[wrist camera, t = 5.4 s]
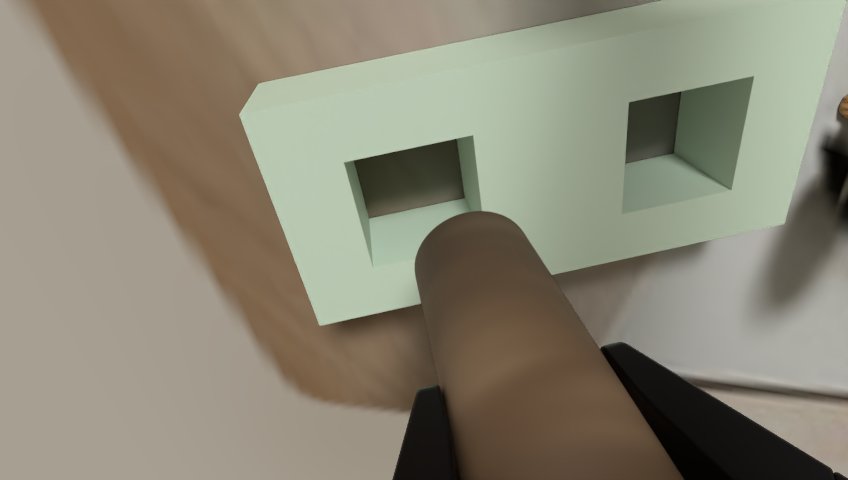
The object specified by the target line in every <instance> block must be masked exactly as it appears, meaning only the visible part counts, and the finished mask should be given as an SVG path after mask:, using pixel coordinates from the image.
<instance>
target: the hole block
mask: <svg viewBox="0 0 848 480" xmlns="http://www.w3.org/2000/svg"><path fill="white" fill-rule="evenodd" d="M846 1H847V0H662V1H657V2H652V3H647V4H642V5H637V6H633V7H628V8H623V9H618V10H613V11H608V12H603V13H598V14H594V15H589V16H584V17H579V18H574V19H569V20H564V21H560V22H555V23H550V24H545V25H540V26H535V27H530V28H525V29H521V30H516V31H511V32H506V33H501V34H496V35H491V36H487V37H482V38H477V39H472V40H467V41H462V42H457V43H452V44H448V45H443V46H438V47H433V48H428V49H423V50H418V51H414V52H409V53H404V54H399V55H394V56H389V57H384V58H379V59H375V60H370V61H365V62H360V63H355V64H350V65H345V66H341V67H336V68H331V69H326V70H321V71H316V72H311V73H306V74H302V75H297V76H292V77H287V78H282V79H277V80H272V81H268V82H263V83H259V84H258V85H257V87H256V89H255V90H254V92H253V93H252V95H251V97H250V98H249V100H248V101H247V103H246V105H245V106H244V108H243V109H242V111H241V113H240V114H239V116H240V119H241V121H242V124H243V126H244V129H245V132H246V134H247V137H248V139H249V142H250V145H251V147H252V150H253V152H254V155H255V158H256V160H257V163H258V166H259V168H260V171H261V173H262V176H263V179H264V181H265V184H266V186H267V189H268V192H269V194H270V197H271V200H272V202H273V205H274V207H275V210H276V213H277V215H278V218H279V220H280V223H281V226H282V228H283V231H284V234H285V236H286V239H287V241H288V244H289V247H290V249H291V252H292V254H293V257H294V260H295V262H296V265H297V267H298V270H299V273H300V275H301V278H302V281H303V283H304V286H305V288H306V291H307V294H308V296H309V299H310V301H311V304H312V307H313V309H314V312H315V315H316V317H317V320H318V322H319V325H320V326H321V325H326V324H331V323H335V322H340V321H344V320H349V319H353V318H358V317H362V316H367V315H372V314H376V313H381V312H385V311H390V310H394V309H399V308H403V307H408V306H413V305H417V304H421V300H420V295H419V291H418V286H417V282H416V277H415V270H414V269H415V258H416V255H417V252H418V249H419V247H420V245H421V243H422V242H423V240H424V239H425V237H426V236H427V235H428V234H429V233H430V232H431V231H432V230H433V229H434V228H435V227H436V226H438V225H439V224H440V223H442V222H443V221H445V220H447V219H449V218H451V217H453V216H456V215H459V214H462V213H466V212H472V211H489V212H494V213H498V214H501V215H503V216H505V217H507V218H509V219H511V220H512V221H514V222H515V223H516V224H517V225H518V226H519V227H520V228H521V229H522V231H523V232H524V233H525V235H526V237H527V238H528V240H529V241H530V243H531V244H532V246H533V247H534V249H535V250H536V252H537V253H538V255H539V257H540V258H541V260H542V261H543V263H544V264H545V266H546V267H547V269H548V270H549V272H550V273H551V275H554V274H558V273H563V272H568V271H572V270H577V269H581V268H586V267H590V266H595V265H599V264H604V263H609V262H613V261H618V260H622V259H627V258H631V257H636V256H640V255H645V254H650V253H654V252H659V251H663V250H668V249H672V248H677V247H681V246H686V245H691V244H695V243H700V242H704V241H709V240H713V239H718V238H723V237H727V236H732V235H736V234H741V233H745V232H750V231H754V230H759V229H764V228H768V227H773V226H777V225H782V224H785V220H786V216H787V213H788V209H789V206H790V202H791V199H792V195H793V191H794V188H795V184H796V181H797V177H798V173H799V170H800V166H801V163H802V159H803V155H804V152H805V148H806V145H807V141H808V138H809V134H810V130H811V127H812V123H813V120H814V116H815V112H816V109H817V105H818V102H819V98H820V95H821V91H822V87H823V84H824V80H825V77H826V73H827V69H828V66H829V62H830V59H831V55H832V52H833V48H834V44H835V41H836V37H837V34H838V30H839V26H840V23H841V19H842V16H843V12H844V9H845V5H846ZM680 91H681V99H680V107H679V115H678V123H677V131H676V139H675V148H674V153H673V154H668V155H664V156H659V157H654V158H650V159H645V160H640V161H636V162H631V163H626V164H625V155H626V140H627V124H628V109H629V102H633V101H638V100H643V99H647V98H652V97H657V96H662V95H666V94H671V93H676V92H680ZM453 139H457V145H458V152H459V159H460V167H461V174H462V181H463V189H464V196H465V198H463V199H458V200H454V201H449V202H444V203H440V204H435V205H430V206H425V207H421V208H416V209H411V210H407V211H402V212H397V213H393V214H388V215H383V216H379V217H374V218H369V216H368V212H367V209H366V205H365V201H364V197H363V194H362V190H361V186H360V182H359V178H358V175H357V171H356V167H355V163H354V160H358V159H363V158H367V157H372V156H377V155H382V154H386V153H391V152H396V151H401V150H405V149H410V148H415V147H420V146H424V145H429V144H434V143H439V142H443V141H448V140H453Z"/></svg>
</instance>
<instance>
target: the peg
mask: <svg viewBox="0 0 848 480" xmlns="http://www.w3.org/2000/svg"><path fill="white" fill-rule="evenodd" d="M414 270H415V277H416V282H417V286H418V291H419V295H420V300H421V305H422V309H423V314H424V318H425V323H426V327H427V332H428V337H429V341H430V346H431V350H432V355H433V359H434V364H435V369H436V373H437V378H438V382H439V386H440V388H441V393H442V397H443V402H444V406H445V411H446V415H447V420H448V424H449V429H450V433H451V438H452V442H453V447H454V451H455V456H456V461H457V467H458V472H459V478H460V480H684V478H683V477H682V475H681V473H680V472H679V470H678V469H677V467H676V466H675V464H674V463H673V461H672V460H671V458H670V457H669V455H668V453H667V452H666V450H665V449H664V447H663V446H662V444H661V443H660V441H659V440H658V438H657V437H656V435H655V433H654V432H653V430H652V429H651V427H650V426H649V424H648V423H647V421H646V420H645V418H644V417H643V415H642V413H641V412H640V410H639V409H638V407H637V406H636V404H635V403H634V401H633V400H632V398H631V397H630V395H629V393H628V392H627V390H626V389H625V387H624V386H623V384H622V383H621V381H620V380H619V378H618V377H617V375H616V373H615V372H614V370H613V369H612V367H611V366H610V364H609V363H608V361H607V360H606V358H605V357H604V355H603V353H602V352H601V350H600V349H599V347H598V346H597V344H596V343H595V341H594V340H593V338H592V337H591V335H590V333H589V332H588V330H587V329H586V327H585V326H584V324H583V323H582V321H581V320H580V318H579V317H578V315H577V313H576V312H575V310H574V309H573V307H572V306H571V304H570V303H569V301H568V300H567V298H566V297H565V295H564V293H563V292H562V290H561V289H560V287H559V286H558V284H557V283H556V281H555V280H554V278H553V277H552V275H551V273H550V272H549V270H548V269H547V267H546V266H545V264H544V263H543V261H542V260H541V258H540V257H539V255H538V253H537V252H536V250H535V249H534V247H533V246H532V244H531V243H530V241H529V240H528V238H527V237H526V235H525V233H524V232H523V231H522V229H521V228H520V227H519V226H518V225H517V224H516V223H515V222H514V221H512V220H511V219H509V218H507V217H505V216H503V215H501V214H498V213H494V212H489V211H472V212H466V213H462V214H459V215H456V216H453V217H451V218H449V219H447V220H445V221H443V222H442V223H440V224H439V225H438V226H436V227H435V228H434V229H433V230H432V231H431V232H430V233H429V234H428V235H427V236H426V237H425V239H424V240H423V242H422V243H421V245H420V247H419V249H418V252H417V255H416V258H415V269H414Z"/></svg>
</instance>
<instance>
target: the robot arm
mask: <svg viewBox="0 0 848 480" xmlns="http://www.w3.org/2000/svg"><path fill="white" fill-rule="evenodd" d="M600 350H601V352H602V353H603V355H604V357H605V358H606V360H607V361H608V363H609V364H610V366H611V367H612V369H613V370H614V372H615V373H616V375H617V377H618V378H619V380H620V381H621V383H622V384H623V386H624V387H625V389H626V390H627V392H628V393H629V395H630V397H631V398H632V400H633V401H634V403H635V404H636V406H637V407H638V409H639V410H640V412H641V413H642V415H643V417H644V418H645V420H646V421H647V423H648V424H649V426H650V427H651V429H652V430H653V432H654V433H655V435H656V437H657V438H658V440H659V441H660V443H661V444H662V446H663V447H664V449H665V450H666V452H667V453H668V455H669V457H670V458H671V460H672V461H673V463H674V464H675V466H676V467H677V469H678V470H679V472H680V473H681V475H682V477H683V478H684V480H848V478H846V477H844V476H843V475H841V474H840V473H838V472H835V473H833V471H832V469H831V468H830V467H828V466H826V465H825V464H823V463H821V462H820V461H818V460H816V459H815V458H813V457H811V456H810V455H808V454H807V453H805V452H803V451H802V450H800V449H798V448H797V447H795V446H793V445H792V444H790V443H789V442H787V441H785V440H784V439H782V438H780V437H779V436H777V435H775V434H774V433H772V432H770V431H769V430H767V429H766V428H764V427H762V426H761V425H759V424H757V423H756V422H754V421H752V420H751V419H749V418H748V417H746V416H744V415H743V414H741V413H739V412H738V411H736V410H734V409H733V408H731V407H729V406H728V405H726V404H725V403H723V402H721V401H720V400H718V399H716V398H715V397H713V396H711V395H710V394H708V393H707V392H705V391H703V390H702V389H700V388H698V387H697V386H695V385H693V384H692V383H690V382H688V381H687V380H685V379H684V378H682V377H680V376H679V375H677V374H675V373H674V372H672V371H670V370H669V369H667V368H665V367H664V366H662V365H661V364H659V363H657V362H656V361H654V360H652V359H651V358H649V357H647V356H646V355H644V354H643V353H641V352H639V351H638V350H636V349H634V348H633V347H631V346H629V345H628V344H626V343H623V342H617V343H613V344H609V345H604V346H602V347H601V349H600ZM393 480H460V478H459V472H458V467H457V461H456V456H455V451H454V447H453V442H452V438H451V433H450V429H449V424H448V420H447V415H446V411H445V406H444V402H443V397H442V393H441V388H440V386H438V385H433V386H429V387H424V388H421V389H419V390H418V391H417V393H416V396H415V400H414V404H413V407H412V411H411V414H410V418H409V422H408V425H407V429H406V433H405V436H404V440H403V443H402V447H401V451H400V454H399V458H398V462H397V465H396V469H395V472H394V476H393Z"/></svg>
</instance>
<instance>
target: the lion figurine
mask: <svg viewBox="0 0 848 480" xmlns="http://www.w3.org/2000/svg"><path fill="white" fill-rule="evenodd" d="M839 112H840V114H842V115H843V116H844V117H845V118H847V119H848V95H846V96H845V97H844V98H843V100H842V101H841V103H840V107H839Z"/></svg>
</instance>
